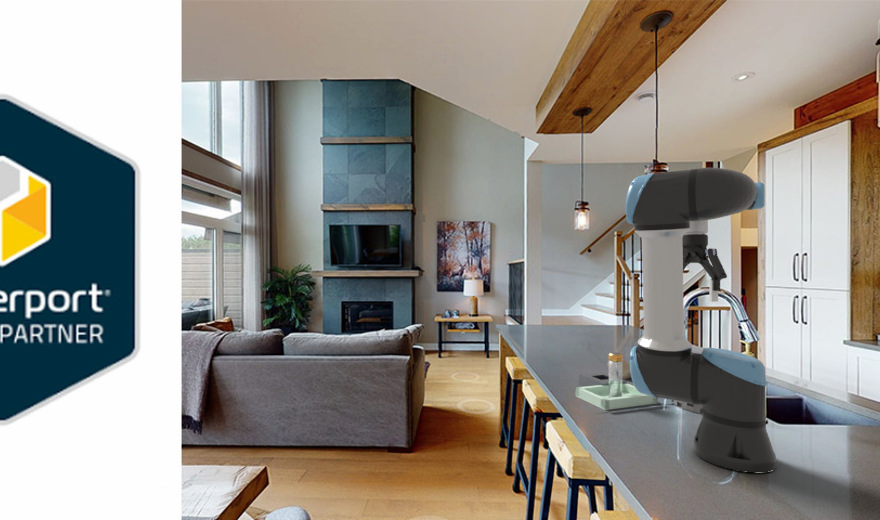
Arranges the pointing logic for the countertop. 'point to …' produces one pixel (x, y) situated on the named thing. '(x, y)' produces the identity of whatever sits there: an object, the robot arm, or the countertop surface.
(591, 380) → the hitch block
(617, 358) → the clear bottle
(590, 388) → the tray
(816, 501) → the countertop surface
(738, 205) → the robot arm
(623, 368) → the stone
